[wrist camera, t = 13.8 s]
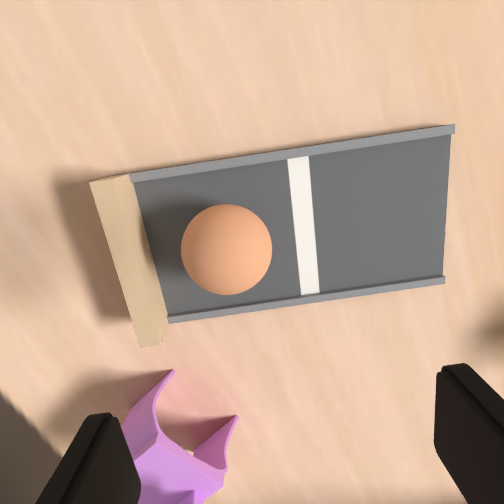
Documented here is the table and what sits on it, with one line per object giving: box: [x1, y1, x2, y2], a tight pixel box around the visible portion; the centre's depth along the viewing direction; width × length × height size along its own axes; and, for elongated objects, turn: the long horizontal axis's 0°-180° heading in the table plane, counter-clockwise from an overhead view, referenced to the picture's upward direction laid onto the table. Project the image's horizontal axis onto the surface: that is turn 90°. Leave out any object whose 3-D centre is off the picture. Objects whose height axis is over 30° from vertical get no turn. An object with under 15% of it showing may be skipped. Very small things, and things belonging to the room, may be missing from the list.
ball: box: [181, 204, 272, 295], centre depth 21 cm, size 6×6×6 cm
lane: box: [89, 124, 455, 348], centre depth 23 cm, size 24×12×4 cm, turn 98°
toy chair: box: [121, 370, 239, 504], centre depth 24 cm, size 8×9×15 cm
